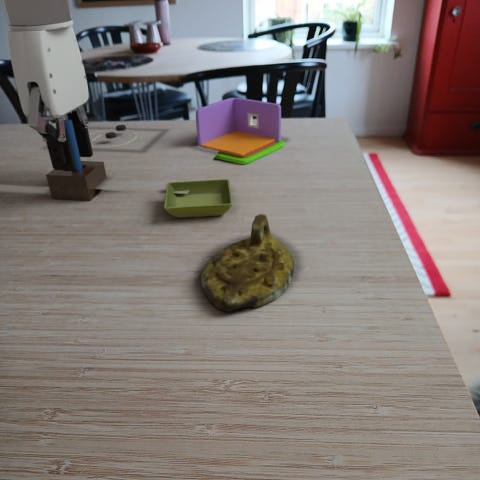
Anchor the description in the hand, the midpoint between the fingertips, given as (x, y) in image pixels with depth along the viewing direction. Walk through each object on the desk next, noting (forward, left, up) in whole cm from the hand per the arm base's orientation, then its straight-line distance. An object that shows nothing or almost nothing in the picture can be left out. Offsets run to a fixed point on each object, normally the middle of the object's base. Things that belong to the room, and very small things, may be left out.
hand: (73, 161), depth 72 cm
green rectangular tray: (+19, -3, -5) cm, 20 cm away
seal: (+29, -19, -5) cm, 35 cm away
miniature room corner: (+19, +21, -5) cm, 29 cm away
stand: (0, 0, -4) cm, 4 cm away
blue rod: (0, 0, -4) cm, 4 cm away
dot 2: (-3, +23, -3) cm, 24 cm away
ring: (-5, +21, -4) cm, 22 cm away
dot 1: (-3, +19, -3) cm, 19 cm away
